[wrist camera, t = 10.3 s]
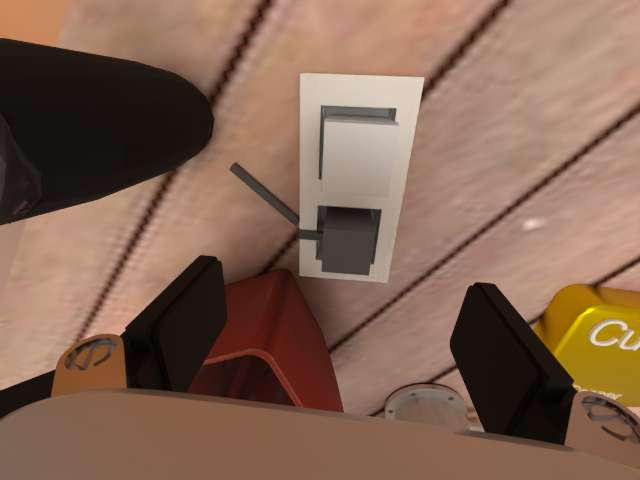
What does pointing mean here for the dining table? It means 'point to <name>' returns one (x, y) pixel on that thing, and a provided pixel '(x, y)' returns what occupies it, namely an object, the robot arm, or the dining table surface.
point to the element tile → (596, 339)
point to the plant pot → (270, 349)
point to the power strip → (347, 210)
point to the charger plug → (358, 154)
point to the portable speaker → (88, 126)
